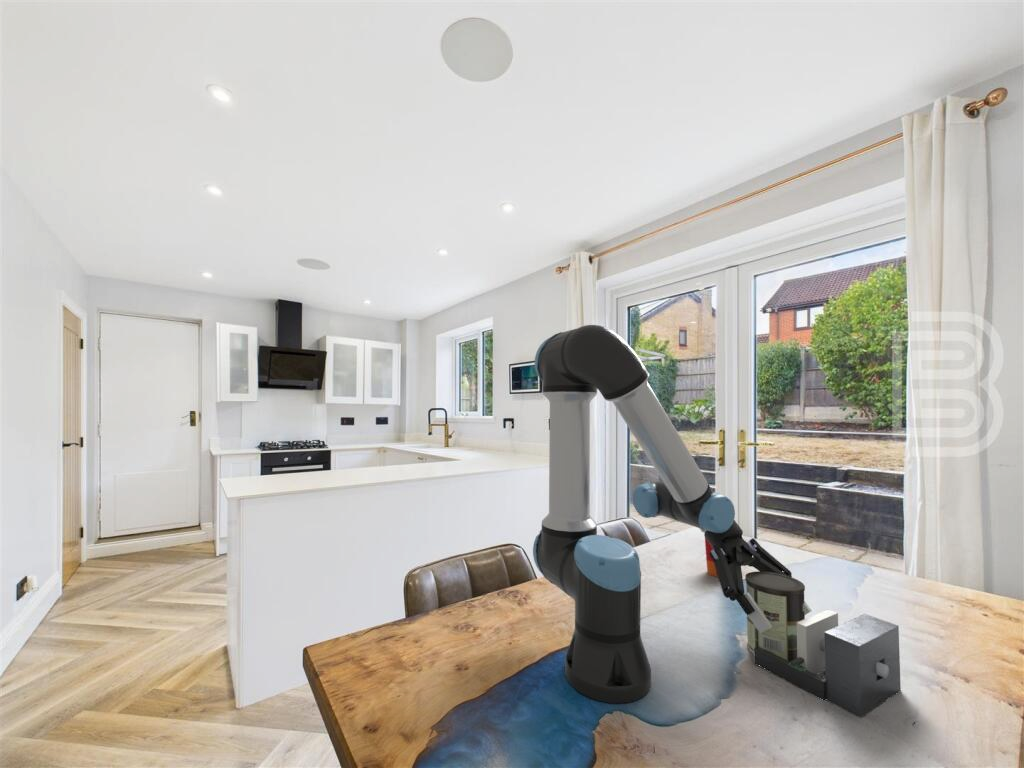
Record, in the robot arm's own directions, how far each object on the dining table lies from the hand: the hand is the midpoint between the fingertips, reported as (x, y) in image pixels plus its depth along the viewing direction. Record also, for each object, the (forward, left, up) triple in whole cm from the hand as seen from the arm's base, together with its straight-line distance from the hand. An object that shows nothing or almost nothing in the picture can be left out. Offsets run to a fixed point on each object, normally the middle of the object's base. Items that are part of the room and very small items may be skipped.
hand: (787, 622), depth 87 cm
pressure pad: (+9, -5, -6) cm, 12 cm away
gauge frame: (+7, -2, -7) cm, 10 cm away
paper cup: (-24, +37, -7) cm, 45 cm away
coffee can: (-2, +1, -7) cm, 7 cm away
